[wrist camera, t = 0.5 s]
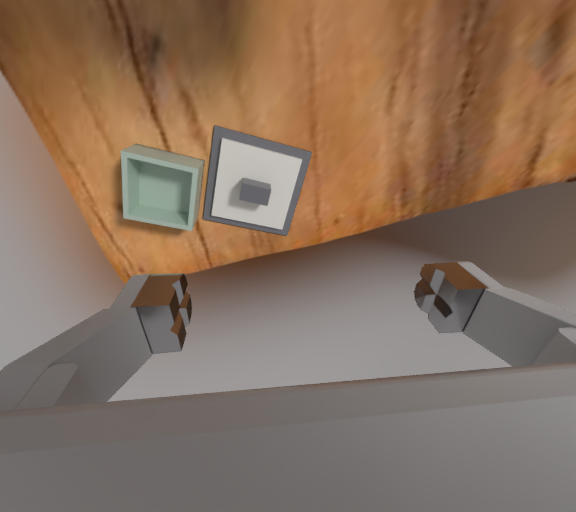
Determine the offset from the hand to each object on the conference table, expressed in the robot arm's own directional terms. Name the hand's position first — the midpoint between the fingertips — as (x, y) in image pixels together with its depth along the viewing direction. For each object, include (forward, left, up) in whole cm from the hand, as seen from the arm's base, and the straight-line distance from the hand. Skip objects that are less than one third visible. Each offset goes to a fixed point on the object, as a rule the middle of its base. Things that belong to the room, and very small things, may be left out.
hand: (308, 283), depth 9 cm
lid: (+10, 0, -42) cm, 43 cm away
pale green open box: (+13, -15, -43) cm, 47 cm away
